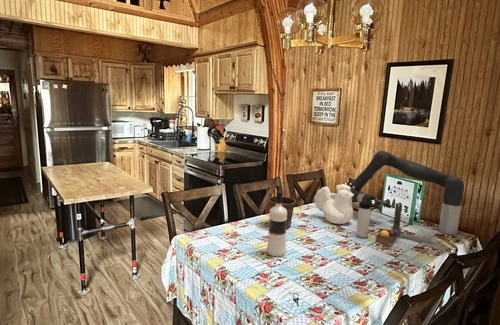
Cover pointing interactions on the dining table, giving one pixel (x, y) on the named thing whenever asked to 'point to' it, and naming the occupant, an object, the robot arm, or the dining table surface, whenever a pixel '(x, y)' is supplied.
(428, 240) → the rail
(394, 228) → the kicker
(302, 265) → the dining table surface
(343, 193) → the decorative rooster
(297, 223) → the dining table surface
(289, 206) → the plant pot
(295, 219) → the dining table surface
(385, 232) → the ball
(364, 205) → the travel mug
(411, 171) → the robot arm
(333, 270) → the dining table surface
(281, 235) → the vodka
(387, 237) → the brown wooden block
